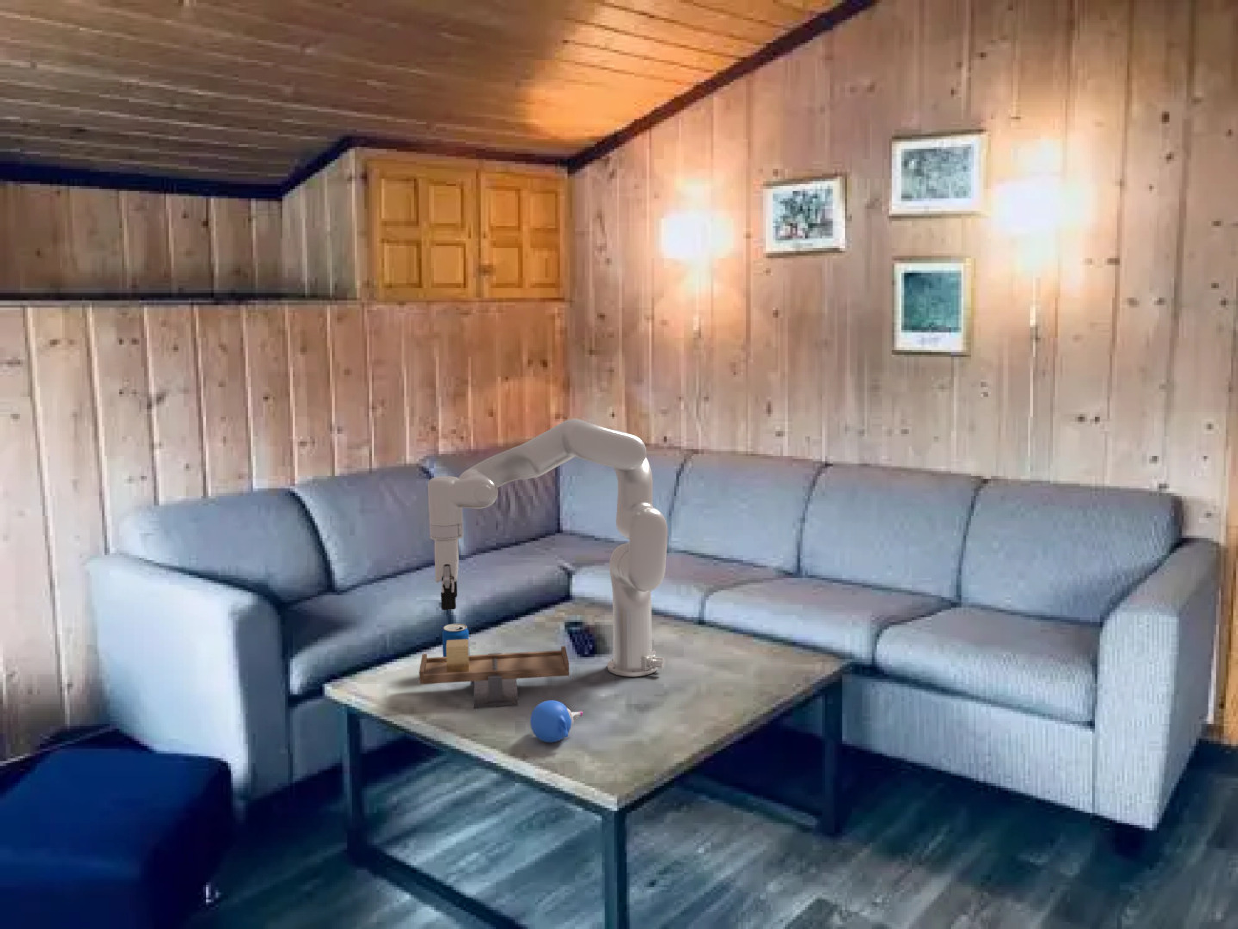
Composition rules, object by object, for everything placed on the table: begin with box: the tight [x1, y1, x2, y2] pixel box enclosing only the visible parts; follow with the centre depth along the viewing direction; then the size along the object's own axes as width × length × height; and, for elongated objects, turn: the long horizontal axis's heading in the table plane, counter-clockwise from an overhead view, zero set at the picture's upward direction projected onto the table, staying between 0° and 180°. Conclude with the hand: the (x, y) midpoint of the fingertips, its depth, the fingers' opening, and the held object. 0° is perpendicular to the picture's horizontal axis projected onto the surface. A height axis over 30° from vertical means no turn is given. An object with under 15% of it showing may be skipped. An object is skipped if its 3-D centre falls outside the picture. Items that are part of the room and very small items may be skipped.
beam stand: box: [473, 652, 519, 710], centre depth 248 cm, size 10×18×7 cm, turn 7°
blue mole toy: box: [530, 699, 584, 743], centre depth 222 cm, size 12×12×8 cm
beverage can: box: [441, 623, 471, 657], centre depth 260 cm, size 6×6×12 cm
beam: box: [418, 645, 570, 685], centre depth 247 cm, size 34×13×3 cm, turn 97°
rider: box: [446, 639, 470, 672], centre depth 246 cm, size 5×5×6 cm
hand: (449, 603), depth 244 cm, fingers open, 9 cm apart
